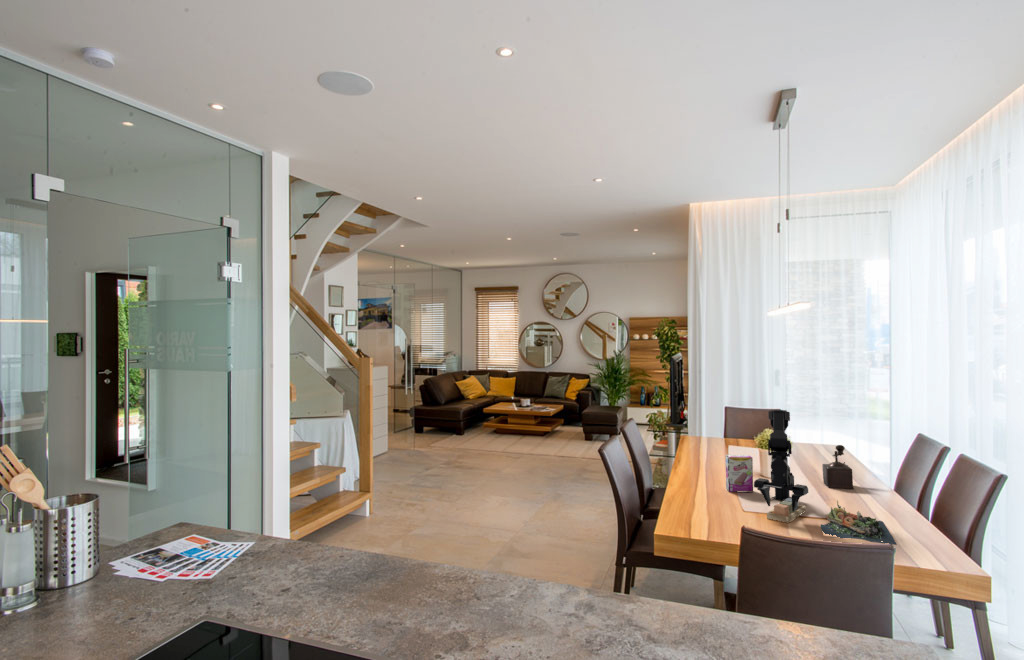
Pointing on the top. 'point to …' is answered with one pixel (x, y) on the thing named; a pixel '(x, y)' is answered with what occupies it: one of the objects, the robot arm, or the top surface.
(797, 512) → the block frame
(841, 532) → the plated dish
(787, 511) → the terracotta block
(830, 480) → the manual coffee grinder
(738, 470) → the candy bar box
